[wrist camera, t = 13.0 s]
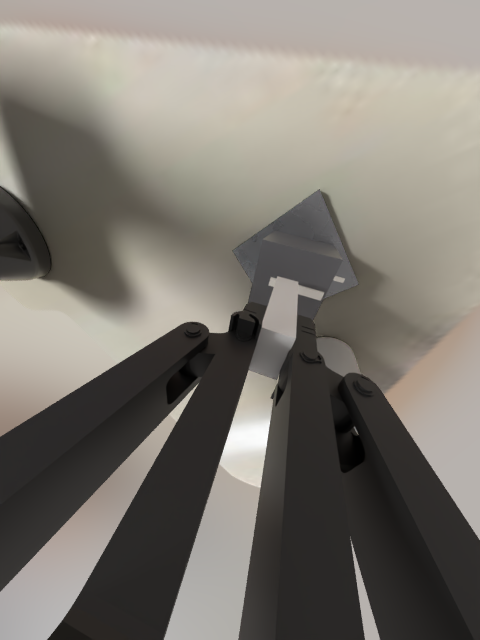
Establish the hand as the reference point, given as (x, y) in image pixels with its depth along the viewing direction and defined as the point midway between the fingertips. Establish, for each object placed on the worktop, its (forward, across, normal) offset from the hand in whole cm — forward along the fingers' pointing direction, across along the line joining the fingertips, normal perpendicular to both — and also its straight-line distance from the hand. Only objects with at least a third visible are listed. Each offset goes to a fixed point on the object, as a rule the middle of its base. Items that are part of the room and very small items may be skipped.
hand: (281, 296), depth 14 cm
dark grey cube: (+8, +1, 0) cm, 8 cm away
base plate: (+9, 0, 0) cm, 9 cm away
